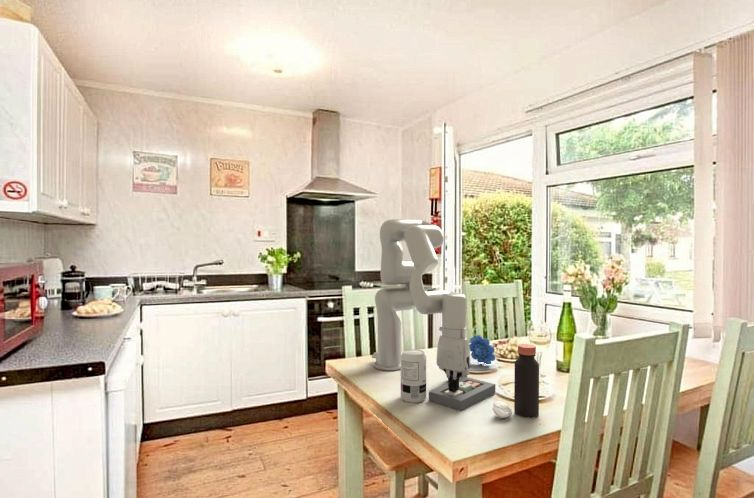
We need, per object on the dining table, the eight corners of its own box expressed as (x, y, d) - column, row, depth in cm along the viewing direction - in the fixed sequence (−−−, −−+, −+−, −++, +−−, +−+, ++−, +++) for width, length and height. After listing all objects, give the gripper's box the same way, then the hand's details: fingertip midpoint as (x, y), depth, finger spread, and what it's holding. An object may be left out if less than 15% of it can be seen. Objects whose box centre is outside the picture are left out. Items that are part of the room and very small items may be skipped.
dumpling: (496, 411, 130) (496, 398, 130) (514, 414, 128) (514, 401, 128) (490, 420, 124) (490, 406, 124) (508, 423, 122) (508, 409, 122)
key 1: (444, 399, 138) (444, 391, 138) (452, 395, 141) (452, 388, 141) (455, 402, 135) (455, 394, 135) (463, 398, 138) (463, 391, 138)
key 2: (453, 392, 142) (453, 384, 142) (460, 388, 145) (460, 381, 145) (464, 395, 139) (464, 387, 139) (472, 391, 142) (472, 384, 142)
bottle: (543, 416, 126) (544, 347, 125) (523, 419, 124) (523, 349, 124) (529, 408, 132) (529, 342, 132) (509, 410, 131) (510, 344, 130)
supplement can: (396, 396, 143) (396, 350, 142) (418, 392, 146) (418, 348, 145) (407, 405, 135) (407, 356, 135) (431, 401, 138) (431, 353, 138)
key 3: (462, 390, 146) (462, 383, 146) (469, 387, 149) (469, 380, 149) (473, 393, 143) (473, 386, 143) (480, 390, 146) (480, 383, 146)
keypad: (428, 400, 139) (428, 391, 139) (464, 384, 154) (464, 376, 153) (461, 411, 130) (461, 401, 130) (495, 393, 145) (495, 384, 145)
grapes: (463, 364, 178) (463, 335, 178) (471, 361, 183) (471, 332, 183) (490, 370, 171) (490, 339, 170) (497, 366, 176) (497, 336, 176)
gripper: (427, 331, 140) (427, 387, 141) (468, 338, 130) (467, 399, 130) (441, 327, 146) (440, 382, 146) (481, 334, 135) (480, 393, 136)
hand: (453, 390), depth 138 cm, fingers closed
